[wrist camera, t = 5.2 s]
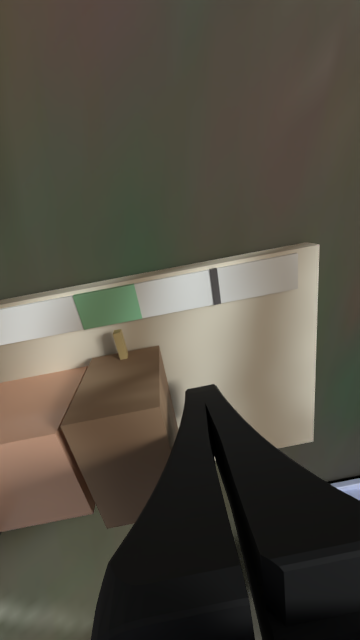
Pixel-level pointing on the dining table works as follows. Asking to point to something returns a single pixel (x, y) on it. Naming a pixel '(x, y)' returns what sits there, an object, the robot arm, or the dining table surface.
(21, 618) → the dining table surface
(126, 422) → the brown box with peg
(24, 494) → the peach matte cube
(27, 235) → the dining table surface
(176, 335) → the gauge board
